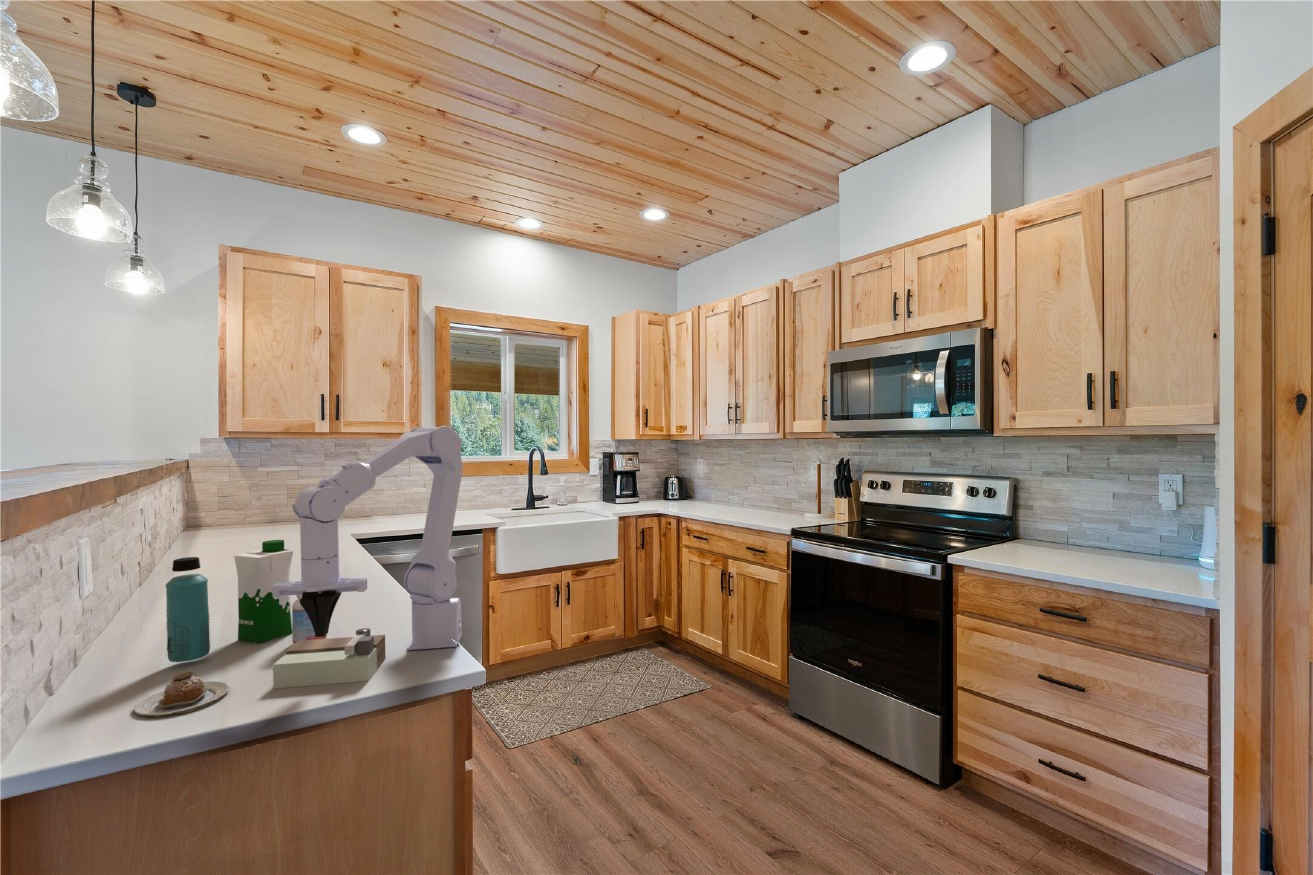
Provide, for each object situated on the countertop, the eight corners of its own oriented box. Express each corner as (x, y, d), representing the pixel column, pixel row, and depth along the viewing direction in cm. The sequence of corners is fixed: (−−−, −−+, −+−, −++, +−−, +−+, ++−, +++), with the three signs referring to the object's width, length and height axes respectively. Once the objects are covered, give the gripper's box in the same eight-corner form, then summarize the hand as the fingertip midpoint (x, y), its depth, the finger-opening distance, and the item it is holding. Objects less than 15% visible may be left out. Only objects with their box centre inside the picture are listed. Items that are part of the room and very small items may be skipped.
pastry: (243, 685, 102) (243, 658, 102) (202, 717, 91) (202, 687, 91) (166, 691, 100) (165, 664, 100) (113, 725, 89) (113, 694, 89)
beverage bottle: (219, 659, 114) (217, 555, 114) (181, 672, 107) (179, 562, 107) (195, 656, 116) (193, 553, 116) (157, 668, 109) (155, 560, 109)
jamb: (385, 658, 113) (385, 634, 113) (377, 669, 108) (376, 644, 108) (299, 664, 110) (299, 640, 110) (286, 676, 105) (286, 651, 105)
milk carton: (299, 632, 129) (297, 540, 129) (257, 646, 121) (256, 548, 121) (271, 628, 132) (270, 538, 132) (229, 641, 124) (227, 545, 124)
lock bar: (358, 638, 110) (358, 628, 110) (372, 637, 111) (372, 627, 111) (341, 655, 102) (341, 644, 102) (356, 654, 102) (356, 643, 102)
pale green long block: (377, 669, 107) (376, 633, 107) (368, 680, 102) (368, 643, 102) (286, 676, 105) (285, 639, 105) (273, 688, 100) (272, 649, 100)
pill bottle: (311, 648, 119) (310, 592, 119) (285, 646, 120) (284, 591, 120) (333, 638, 125) (332, 584, 125) (308, 636, 126) (307, 583, 126)
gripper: (262, 563, 98) (264, 646, 98) (357, 559, 100) (359, 639, 100) (282, 555, 104) (283, 632, 105) (370, 551, 107) (371, 626, 107)
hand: (321, 635), depth 103 cm, fingers closed
